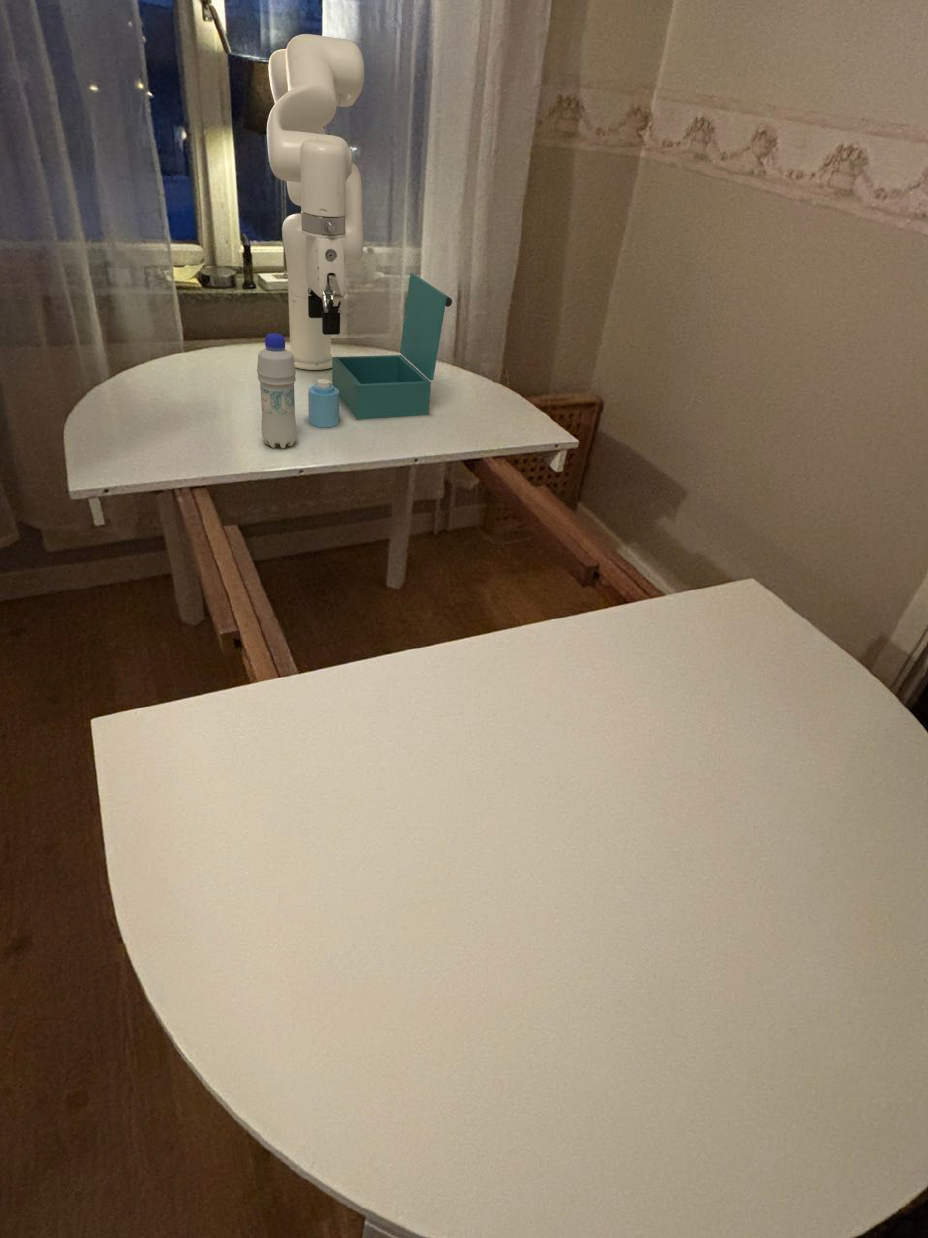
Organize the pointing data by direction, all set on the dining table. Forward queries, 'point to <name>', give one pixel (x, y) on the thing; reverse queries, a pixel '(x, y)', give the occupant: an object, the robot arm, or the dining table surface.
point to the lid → (423, 324)
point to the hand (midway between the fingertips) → (323, 325)
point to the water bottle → (323, 404)
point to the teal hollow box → (381, 386)
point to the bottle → (277, 392)
